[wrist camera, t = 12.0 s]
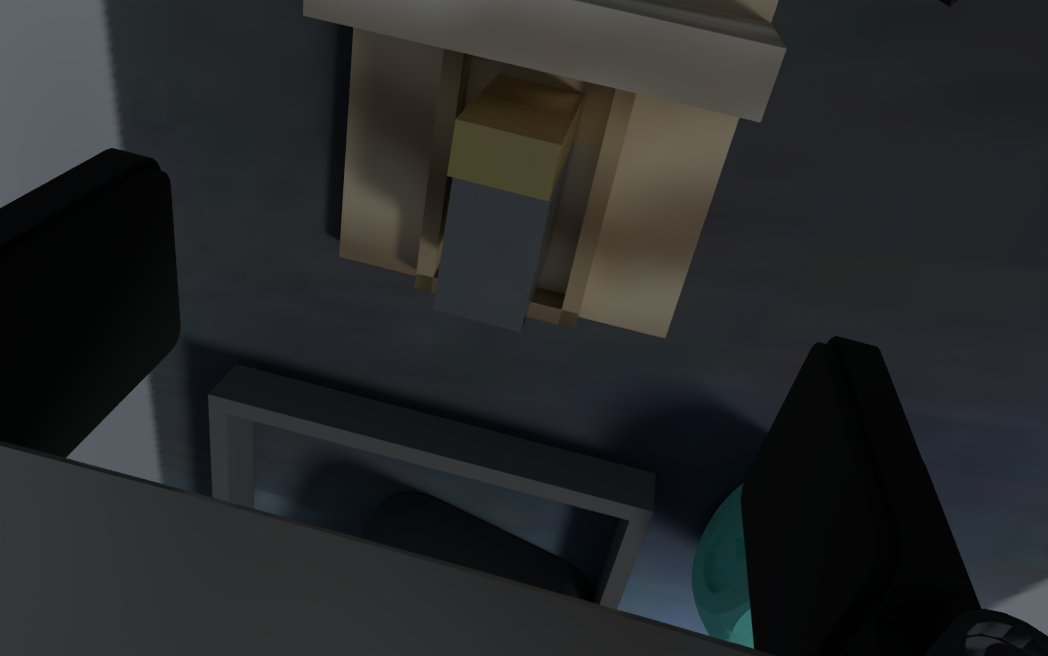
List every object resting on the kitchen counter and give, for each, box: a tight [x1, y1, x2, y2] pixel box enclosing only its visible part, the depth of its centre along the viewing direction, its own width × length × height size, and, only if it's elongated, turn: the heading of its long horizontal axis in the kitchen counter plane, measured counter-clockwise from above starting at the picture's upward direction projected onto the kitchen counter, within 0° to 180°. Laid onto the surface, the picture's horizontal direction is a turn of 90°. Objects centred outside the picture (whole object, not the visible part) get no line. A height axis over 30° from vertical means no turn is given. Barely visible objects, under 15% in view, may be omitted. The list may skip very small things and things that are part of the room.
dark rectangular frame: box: [208, 364, 656, 609], centre depth 47 cm, size 24×24×3 cm
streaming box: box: [361, 493, 592, 602], centre depth 48 cm, size 14×14×5 cm
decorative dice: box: [692, 483, 754, 649], centre depth 38 cm, size 8×8×8 cm
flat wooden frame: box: [303, 0, 786, 338], centre depth 28 cm, size 26×16×6 cm, turn 169°
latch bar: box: [433, 73, 584, 332], centre depth 30 cm, size 8×4×7 cm, turn 169°
